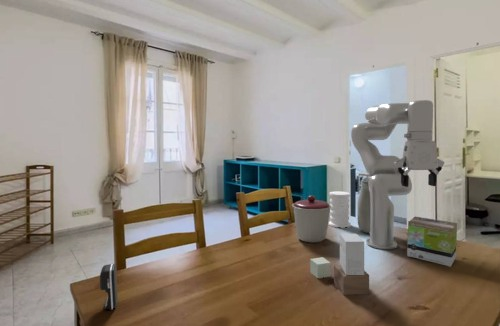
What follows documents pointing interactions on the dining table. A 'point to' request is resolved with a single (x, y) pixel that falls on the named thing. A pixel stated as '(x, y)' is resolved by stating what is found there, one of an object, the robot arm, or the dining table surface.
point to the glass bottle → (364, 206)
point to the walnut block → (351, 282)
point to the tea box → (432, 240)
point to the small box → (352, 254)
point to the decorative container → (339, 209)
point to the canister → (311, 219)
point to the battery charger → (109, 285)
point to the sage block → (320, 267)
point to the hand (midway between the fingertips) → (418, 185)
